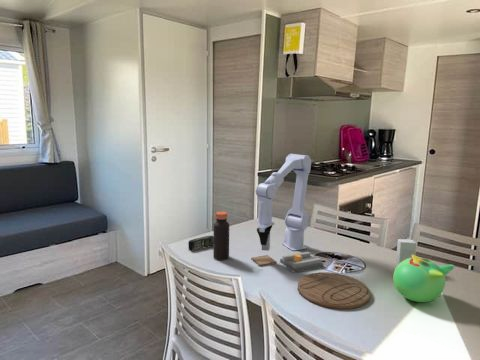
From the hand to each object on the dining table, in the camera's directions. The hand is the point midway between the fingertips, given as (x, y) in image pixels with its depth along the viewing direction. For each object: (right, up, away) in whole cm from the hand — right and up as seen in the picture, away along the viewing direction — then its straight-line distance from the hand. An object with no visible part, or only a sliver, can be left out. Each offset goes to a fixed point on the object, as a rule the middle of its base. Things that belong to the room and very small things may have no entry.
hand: (264, 243), depth 154 cm
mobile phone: (-27, -5, +17) cm, 33 cm away
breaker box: (+15, -9, -1) cm, 18 cm away
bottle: (-18, -7, +5) cm, 20 cm away
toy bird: (+51, -14, -28) cm, 60 cm away
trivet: (+23, -14, -24) cm, 36 cm away
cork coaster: (0, -8, +1) cm, 8 cm away
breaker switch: (+14, -7, -2) cm, 16 cm away
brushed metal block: (+1, -2, 0) cm, 3 cm away
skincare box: (+57, -10, -3) cm, 58 cm away
